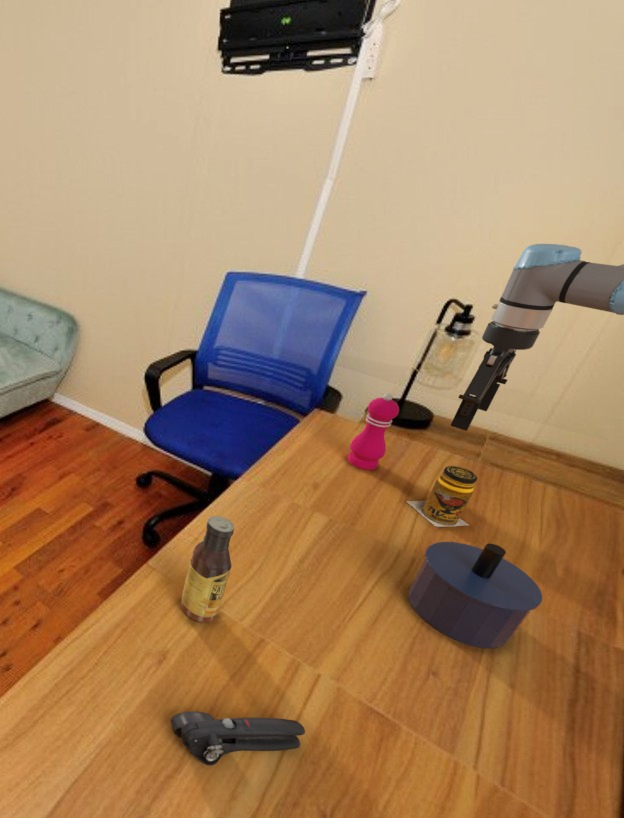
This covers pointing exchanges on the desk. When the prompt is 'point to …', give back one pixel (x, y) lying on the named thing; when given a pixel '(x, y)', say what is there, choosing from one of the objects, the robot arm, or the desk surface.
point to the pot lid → (483, 575)
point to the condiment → (448, 497)
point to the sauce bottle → (208, 572)
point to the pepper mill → (373, 433)
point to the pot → (461, 613)
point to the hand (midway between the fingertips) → (469, 418)
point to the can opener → (233, 734)
